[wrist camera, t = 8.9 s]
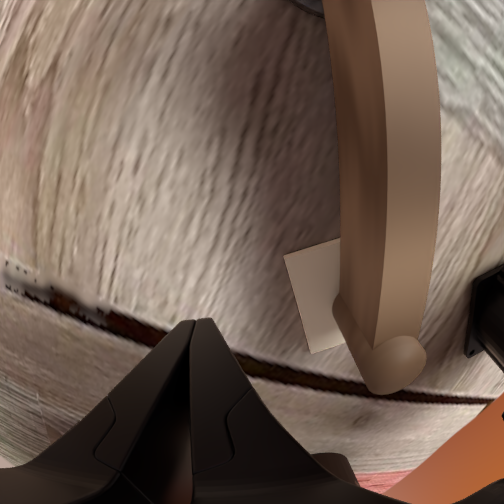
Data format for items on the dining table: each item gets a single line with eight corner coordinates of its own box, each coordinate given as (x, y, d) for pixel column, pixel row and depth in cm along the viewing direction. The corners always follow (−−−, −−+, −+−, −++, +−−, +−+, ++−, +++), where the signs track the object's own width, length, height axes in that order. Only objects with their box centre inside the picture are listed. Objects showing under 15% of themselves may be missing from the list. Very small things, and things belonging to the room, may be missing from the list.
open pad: (405, 314, 15) (408, 318, 15) (309, 349, 16) (311, 354, 15) (398, 218, 13) (402, 221, 13) (283, 255, 14) (284, 259, 13)
